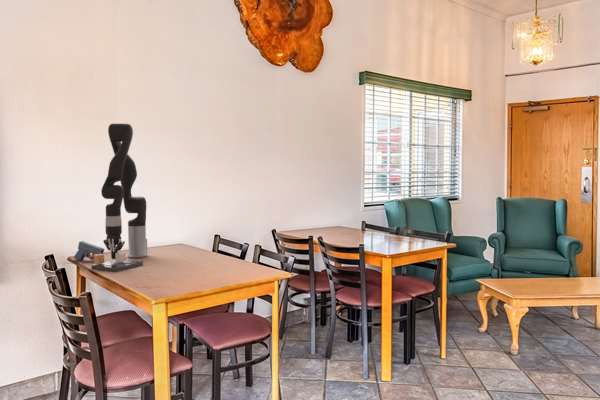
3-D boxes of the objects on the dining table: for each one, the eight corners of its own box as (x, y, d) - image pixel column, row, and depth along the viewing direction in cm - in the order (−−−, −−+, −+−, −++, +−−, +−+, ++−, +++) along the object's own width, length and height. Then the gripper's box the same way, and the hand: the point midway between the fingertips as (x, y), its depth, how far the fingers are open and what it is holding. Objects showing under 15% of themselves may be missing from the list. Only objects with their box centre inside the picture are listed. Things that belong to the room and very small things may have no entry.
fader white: (120, 260, 243) (120, 251, 243) (125, 261, 242) (125, 252, 242) (115, 261, 240) (115, 252, 240) (119, 262, 239) (119, 253, 238)
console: (119, 262, 252) (119, 258, 251) (143, 265, 245) (143, 261, 245) (91, 268, 235) (91, 264, 235) (115, 272, 228) (115, 267, 228)
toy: (98, 267, 254) (102, 249, 253) (73, 258, 257) (77, 240, 256) (101, 266, 257) (105, 248, 255) (76, 257, 259) (80, 239, 258)
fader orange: (99, 262, 239) (99, 253, 238) (104, 263, 237) (104, 253, 237) (93, 263, 235) (93, 254, 235) (98, 264, 234) (98, 255, 234)
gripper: (129, 224, 242) (129, 258, 243) (109, 223, 248) (110, 256, 249) (117, 226, 235) (118, 261, 236) (98, 224, 241) (98, 259, 242)
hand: (114, 258), depth 243 cm, fingers closed
